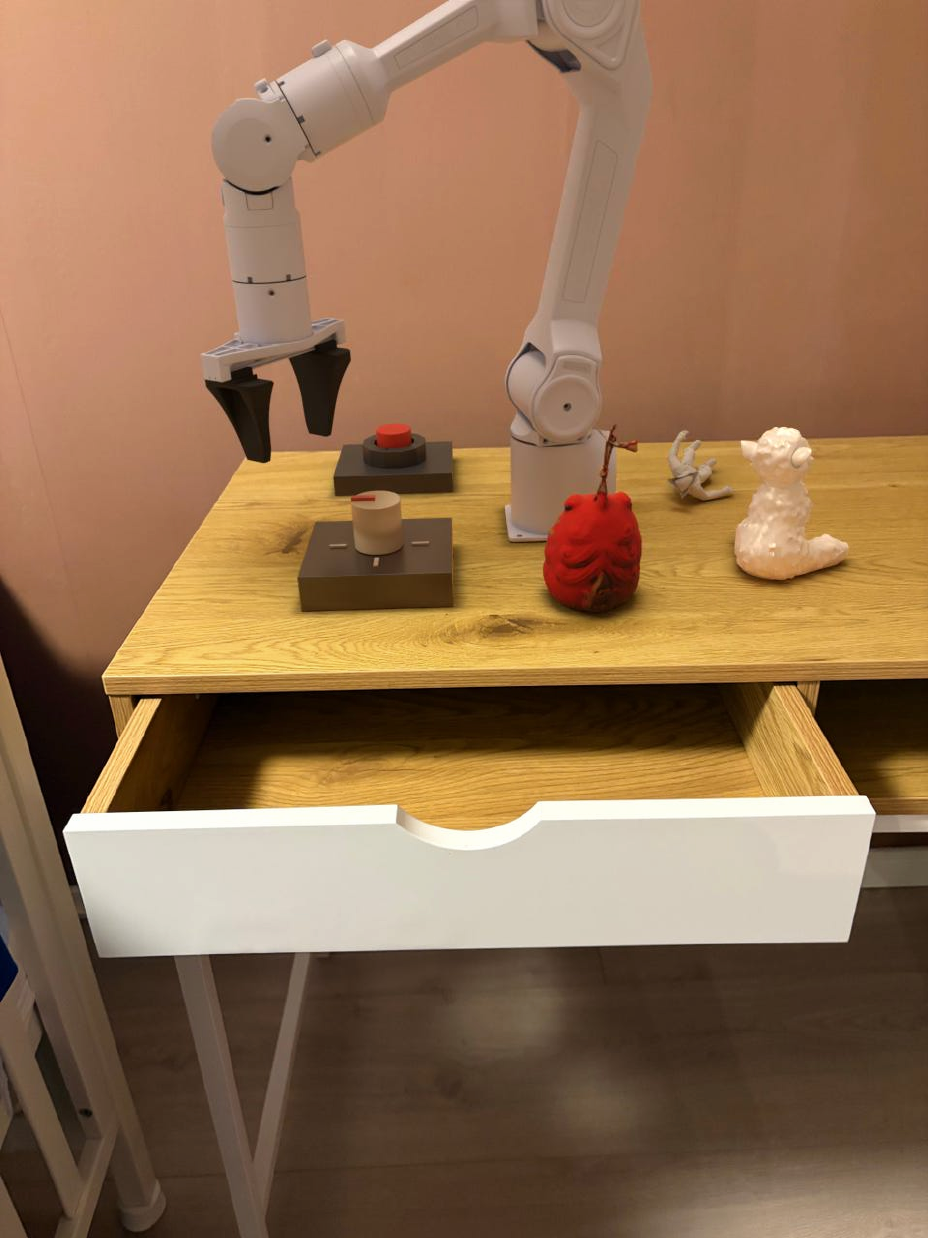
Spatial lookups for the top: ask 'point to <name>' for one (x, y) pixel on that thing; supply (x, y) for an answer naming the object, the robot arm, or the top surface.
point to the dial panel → (378, 569)
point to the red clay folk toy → (595, 546)
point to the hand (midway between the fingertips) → (290, 446)
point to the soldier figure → (691, 472)
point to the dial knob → (377, 522)
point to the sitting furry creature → (781, 512)
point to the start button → (393, 436)
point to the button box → (395, 468)
